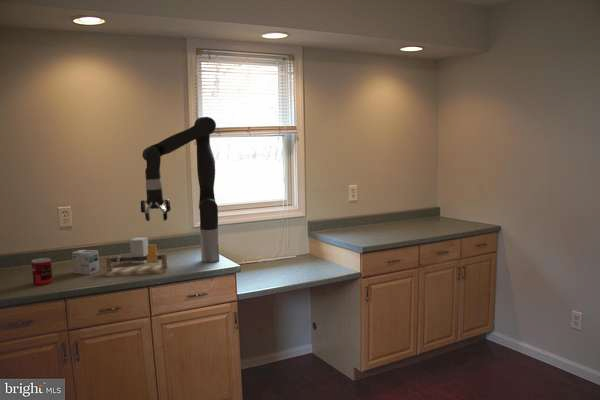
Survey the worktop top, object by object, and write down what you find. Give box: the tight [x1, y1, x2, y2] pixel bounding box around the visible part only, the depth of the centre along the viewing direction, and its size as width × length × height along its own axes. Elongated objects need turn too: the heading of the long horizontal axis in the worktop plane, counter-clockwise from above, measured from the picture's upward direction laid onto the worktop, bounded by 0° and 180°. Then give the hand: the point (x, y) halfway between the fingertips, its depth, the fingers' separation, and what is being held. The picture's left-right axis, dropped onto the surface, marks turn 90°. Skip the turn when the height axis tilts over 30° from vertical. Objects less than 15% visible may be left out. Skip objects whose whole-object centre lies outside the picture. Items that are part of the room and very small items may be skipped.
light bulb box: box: [71, 249, 101, 276], centre depth 241 cm, size 11×7×11 cm, turn 71°
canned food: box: [31, 257, 54, 286], centre depth 224 cm, size 8×8×11 cm
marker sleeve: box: [146, 244, 159, 264], centre depth 242 cm, size 5×4×9 cm
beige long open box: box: [105, 253, 169, 277], centre depth 241 cm, size 28×10×8 cm, turn 99°
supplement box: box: [128, 237, 149, 264], centre depth 260 cm, size 7×7×13 cm
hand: (156, 220), depth 243 cm, fingers open, 8 cm apart
